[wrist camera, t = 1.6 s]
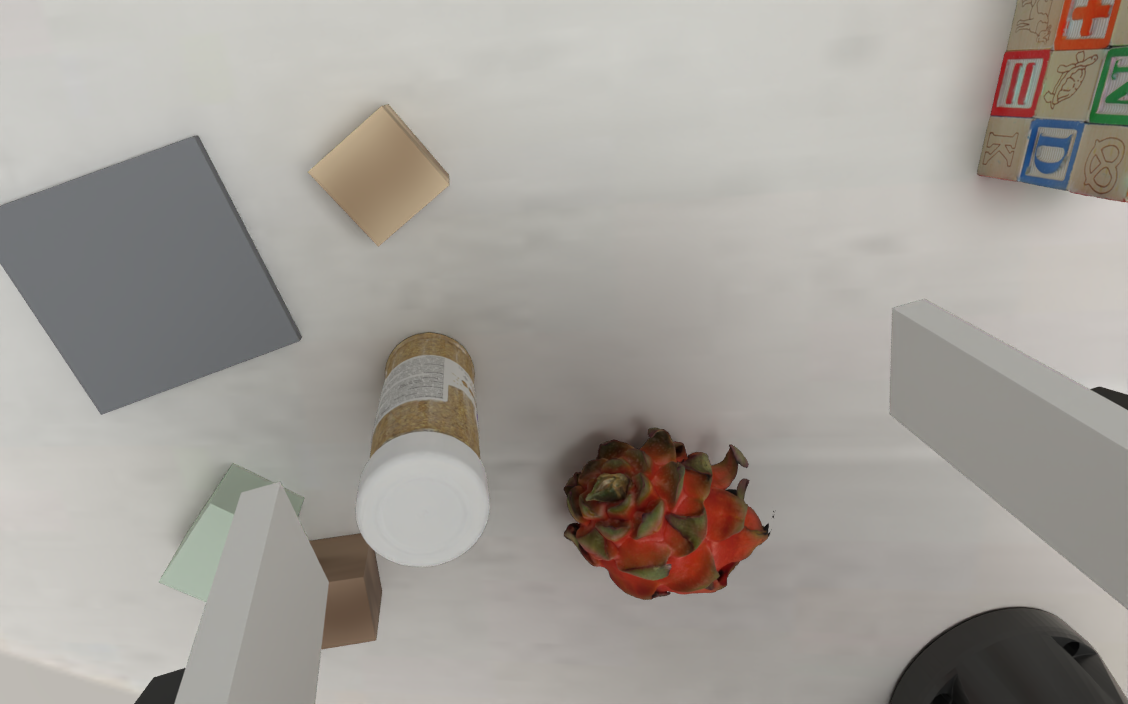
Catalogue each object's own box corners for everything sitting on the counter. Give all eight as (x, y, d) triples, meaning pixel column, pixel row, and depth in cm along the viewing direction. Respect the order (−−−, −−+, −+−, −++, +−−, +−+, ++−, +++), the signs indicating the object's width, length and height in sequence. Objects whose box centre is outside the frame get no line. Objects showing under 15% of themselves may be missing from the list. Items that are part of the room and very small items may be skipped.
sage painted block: (304, 496, 38) (289, 540, 34) (257, 565, 39) (237, 615, 35) (233, 462, 37) (210, 503, 33) (186, 533, 38) (158, 582, 34)
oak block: (448, 174, 33) (449, 185, 30) (385, 229, 34) (378, 246, 30) (388, 104, 32) (381, 106, 28) (323, 162, 32) (307, 171, 29)
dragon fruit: (540, 426, 40) (710, 464, 45) (520, 583, 38) (702, 605, 43) (618, 402, 33) (811, 450, 38) (598, 595, 30) (809, 620, 35)
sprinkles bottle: (480, 404, 38) (499, 560, 25) (392, 418, 37) (367, 583, 25) (467, 322, 36) (481, 445, 23) (376, 335, 35) (340, 468, 23)
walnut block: (382, 590, 41) (376, 640, 37) (310, 601, 40) (296, 653, 36) (371, 531, 39) (363, 576, 36) (295, 541, 39) (280, 589, 35)
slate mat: (301, 336, 35) (299, 340, 34) (106, 409, 35) (101, 414, 34) (198, 135, 31) (193, 136, 31) (-22, 214, 31) (-31, 217, 30)
